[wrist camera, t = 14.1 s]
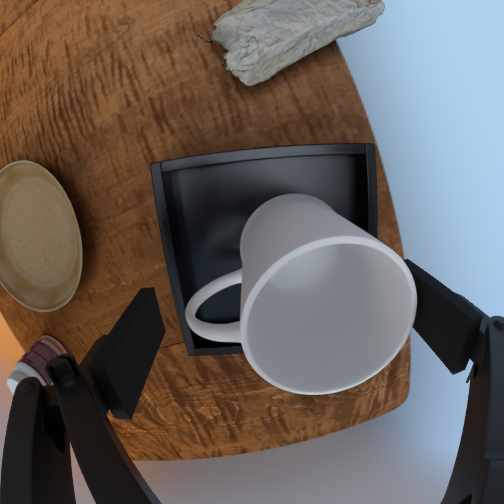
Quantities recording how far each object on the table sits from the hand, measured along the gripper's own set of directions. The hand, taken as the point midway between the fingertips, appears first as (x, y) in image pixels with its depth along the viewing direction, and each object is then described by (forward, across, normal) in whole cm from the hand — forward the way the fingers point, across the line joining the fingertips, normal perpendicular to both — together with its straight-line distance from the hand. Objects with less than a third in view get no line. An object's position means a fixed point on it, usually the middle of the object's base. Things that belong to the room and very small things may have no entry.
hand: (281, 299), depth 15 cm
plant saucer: (+10, -22, +4) cm, 25 cm away
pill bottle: (+10, -26, -10) cm, 30 cm away
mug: (+9, 0, 0) cm, 9 cm away
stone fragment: (+9, +6, +21) cm, 23 cm away
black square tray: (+9, 0, 0) cm, 9 cm away
